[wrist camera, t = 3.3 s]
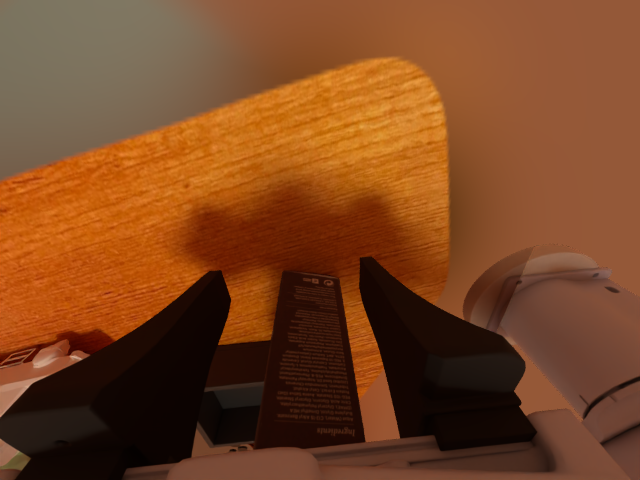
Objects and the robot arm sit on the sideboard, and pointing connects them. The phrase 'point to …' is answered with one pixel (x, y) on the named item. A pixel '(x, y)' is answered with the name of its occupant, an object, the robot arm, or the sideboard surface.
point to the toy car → (31, 379)
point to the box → (309, 369)
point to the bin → (233, 394)
